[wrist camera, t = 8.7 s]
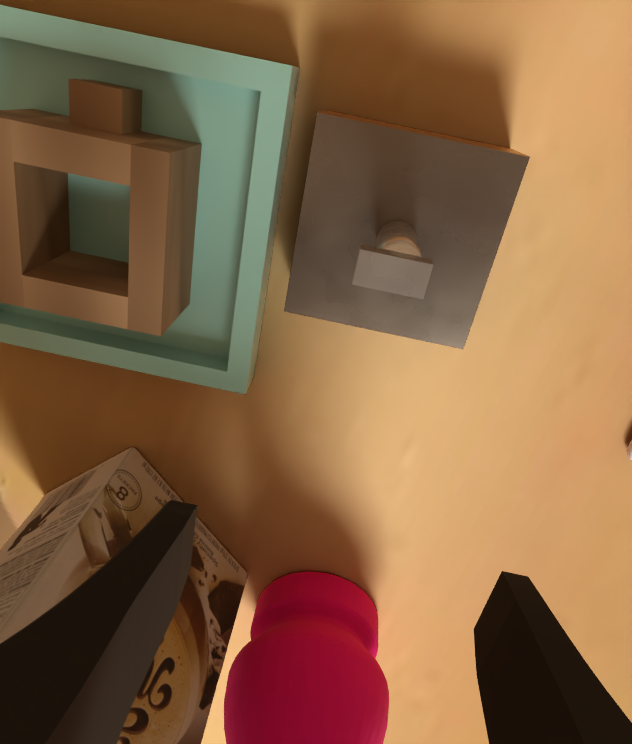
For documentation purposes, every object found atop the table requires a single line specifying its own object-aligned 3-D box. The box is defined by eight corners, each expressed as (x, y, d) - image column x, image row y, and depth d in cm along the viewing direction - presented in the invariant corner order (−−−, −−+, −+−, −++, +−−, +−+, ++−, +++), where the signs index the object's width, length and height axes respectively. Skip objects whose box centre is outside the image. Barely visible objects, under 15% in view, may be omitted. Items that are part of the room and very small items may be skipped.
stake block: (510, 148, 17) (569, 174, 12) (454, 321, 20) (481, 405, 15) (325, 109, 17) (300, 118, 12) (294, 287, 20) (262, 358, 15)
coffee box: (255, 572, 27) (116, 1104, 13) (159, 612, 29) (-50, 1106, 15) (134, 439, 24) (-221, 941, 10) (38, 493, 26) (-369, 972, 12)
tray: (299, 67, 17) (292, 65, 15) (254, 374, 22) (245, 394, 21) (-47, -5, 17) (-85, -14, 16) (-12, 318, 22) (-39, 333, 21)
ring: (204, 103, 17) (172, 105, 14) (189, 304, 20) (160, 336, 18) (30, 66, 17) (-34, 61, 14) (42, 272, 20) (-9, 300, 18)
